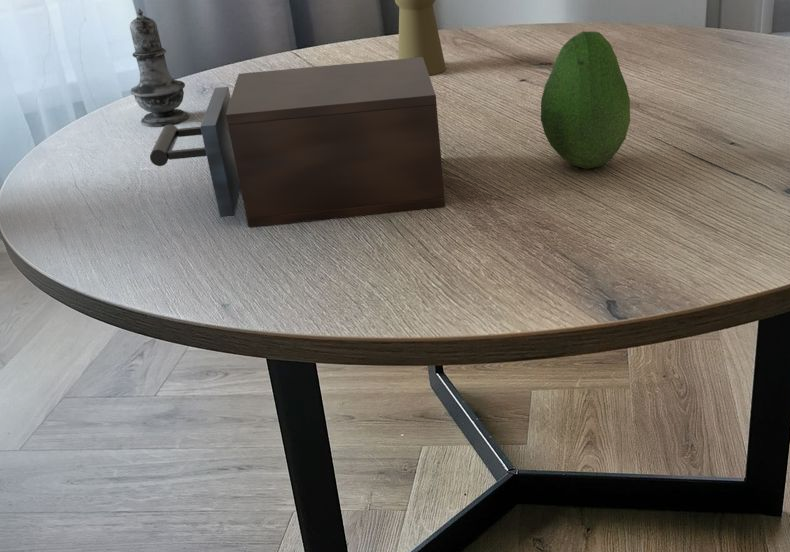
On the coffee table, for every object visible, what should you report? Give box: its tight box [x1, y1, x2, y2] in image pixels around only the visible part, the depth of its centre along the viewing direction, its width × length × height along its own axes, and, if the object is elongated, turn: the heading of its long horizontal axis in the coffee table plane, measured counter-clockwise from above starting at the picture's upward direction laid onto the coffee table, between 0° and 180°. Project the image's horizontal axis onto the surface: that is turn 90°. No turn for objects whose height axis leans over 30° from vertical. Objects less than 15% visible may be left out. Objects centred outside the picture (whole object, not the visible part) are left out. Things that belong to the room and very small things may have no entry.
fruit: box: [540, 30, 631, 170], centre depth 85 cm, size 8×8×12 cm
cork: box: [394, 0, 447, 77], centre depth 118 cm, size 6×6×11 cm
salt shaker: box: [129, 8, 190, 128], centre depth 105 cm, size 6×6×12 cm
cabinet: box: [226, 57, 446, 228], centre depth 84 cm, size 17×13×10 cm
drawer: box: [149, 86, 241, 218], centre depth 83 cm, size 20×11×8 cm, turn 99°
